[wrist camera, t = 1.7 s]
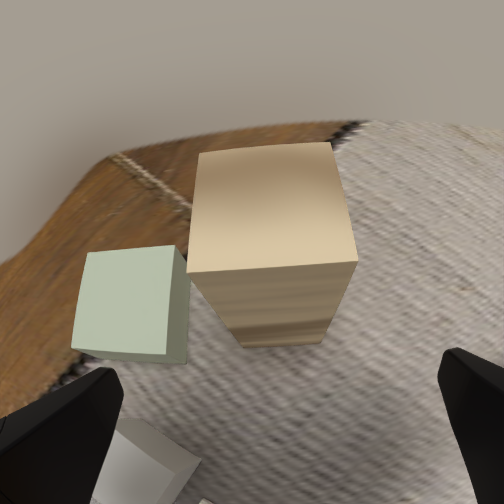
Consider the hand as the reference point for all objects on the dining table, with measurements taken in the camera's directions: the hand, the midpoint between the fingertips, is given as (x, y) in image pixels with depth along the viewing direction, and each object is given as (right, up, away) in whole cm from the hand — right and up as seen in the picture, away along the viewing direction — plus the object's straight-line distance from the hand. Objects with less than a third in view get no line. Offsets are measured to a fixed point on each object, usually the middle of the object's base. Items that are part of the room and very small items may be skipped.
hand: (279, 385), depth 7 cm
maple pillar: (+1, -1, +13) cm, 13 cm away
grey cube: (-7, -11, +9) cm, 16 cm away
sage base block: (-9, -1, +14) cm, 17 cm away
